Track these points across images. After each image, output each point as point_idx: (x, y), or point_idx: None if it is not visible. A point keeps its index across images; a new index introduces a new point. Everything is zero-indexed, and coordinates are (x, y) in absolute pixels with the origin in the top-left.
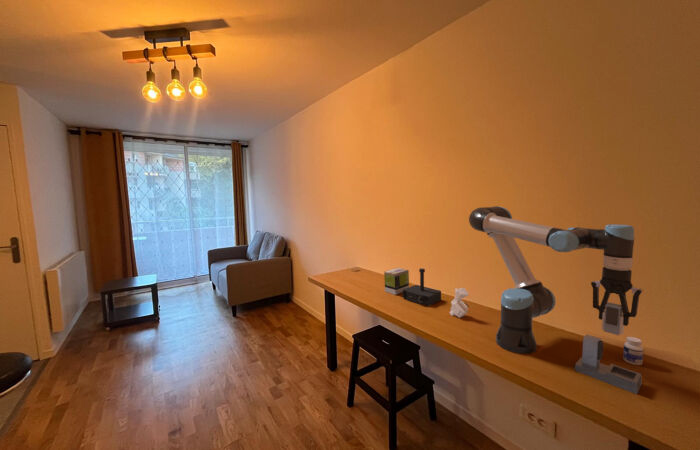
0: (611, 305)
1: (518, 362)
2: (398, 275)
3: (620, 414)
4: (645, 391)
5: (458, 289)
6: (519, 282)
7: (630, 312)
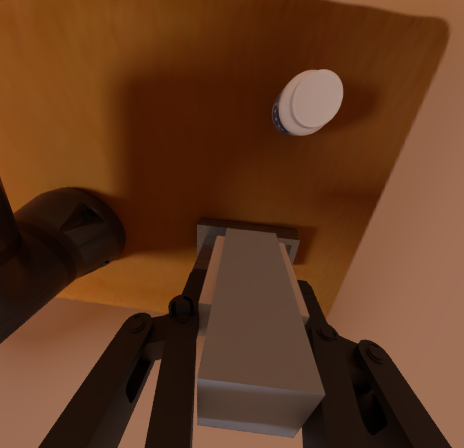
0: (234, 422)
1: (131, 283)
2: None
3: None
4: (298, 247)
5: None
6: None
7: (351, 369)
